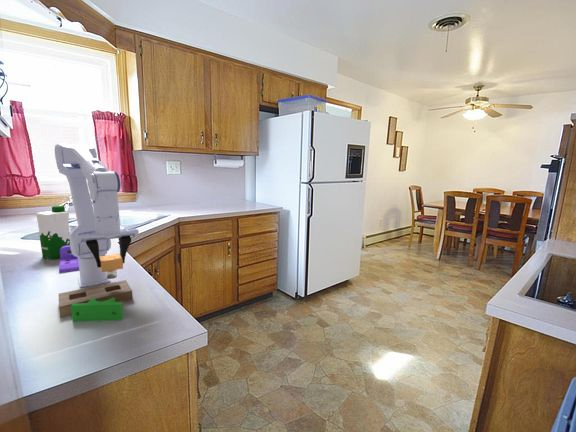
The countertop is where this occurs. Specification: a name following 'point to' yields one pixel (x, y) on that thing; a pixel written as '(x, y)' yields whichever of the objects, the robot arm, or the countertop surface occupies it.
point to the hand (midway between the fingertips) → (110, 264)
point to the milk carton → (53, 231)
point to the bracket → (67, 260)
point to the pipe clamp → (97, 310)
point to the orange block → (111, 264)
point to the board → (94, 295)
